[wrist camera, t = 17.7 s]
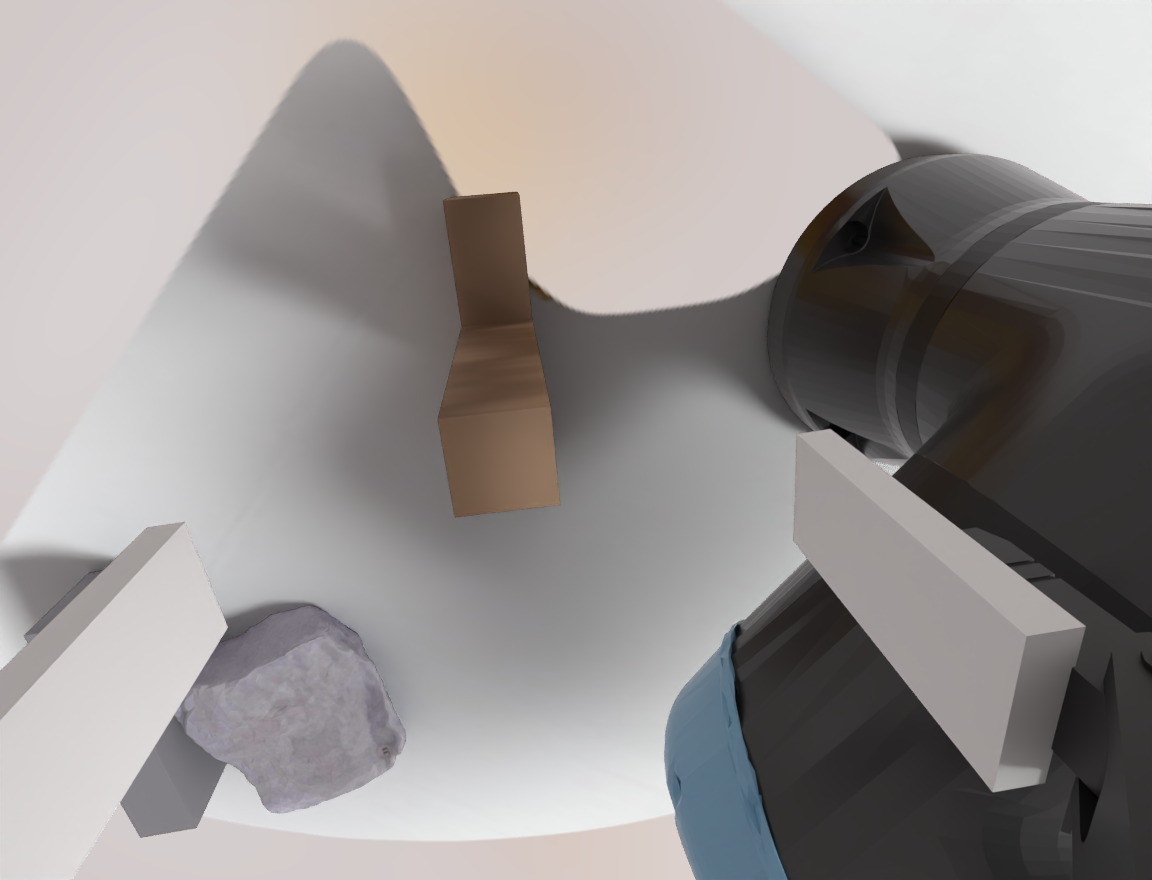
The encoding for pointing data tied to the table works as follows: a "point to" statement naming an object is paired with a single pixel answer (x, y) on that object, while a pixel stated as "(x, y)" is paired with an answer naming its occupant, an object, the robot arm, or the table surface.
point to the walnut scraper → (495, 368)
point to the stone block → (295, 710)
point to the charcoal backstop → (160, 766)
